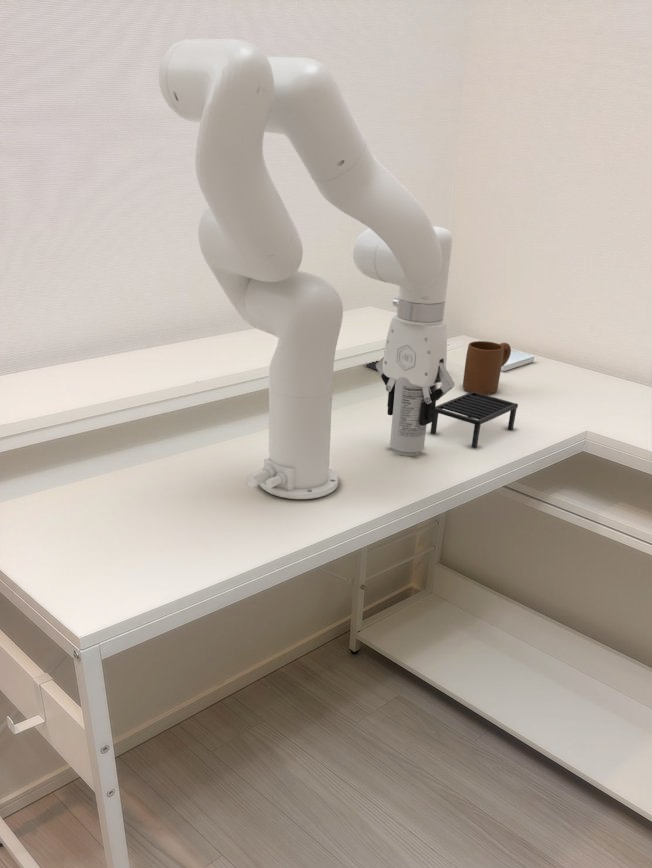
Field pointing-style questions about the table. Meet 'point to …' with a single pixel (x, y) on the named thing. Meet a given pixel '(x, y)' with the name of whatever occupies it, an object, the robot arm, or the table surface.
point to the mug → (484, 366)
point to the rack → (475, 411)
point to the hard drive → (517, 360)
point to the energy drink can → (407, 419)
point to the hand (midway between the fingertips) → (409, 417)
